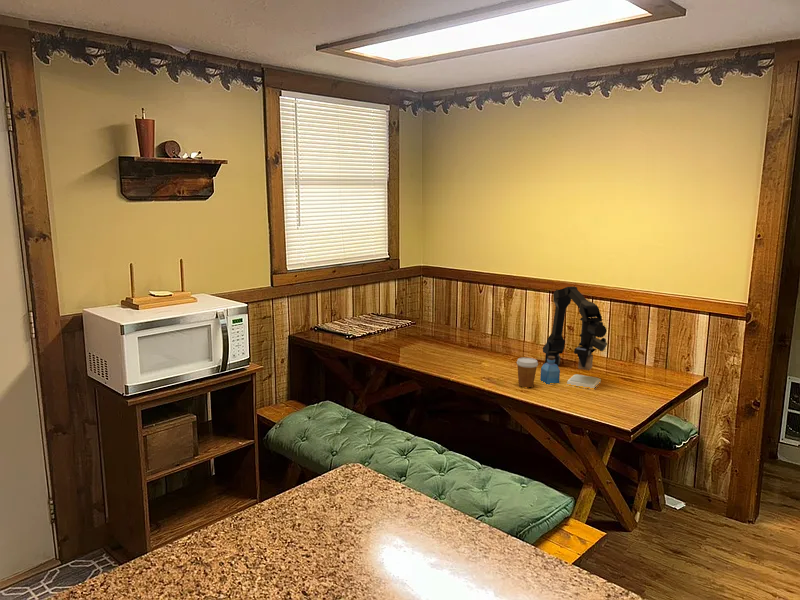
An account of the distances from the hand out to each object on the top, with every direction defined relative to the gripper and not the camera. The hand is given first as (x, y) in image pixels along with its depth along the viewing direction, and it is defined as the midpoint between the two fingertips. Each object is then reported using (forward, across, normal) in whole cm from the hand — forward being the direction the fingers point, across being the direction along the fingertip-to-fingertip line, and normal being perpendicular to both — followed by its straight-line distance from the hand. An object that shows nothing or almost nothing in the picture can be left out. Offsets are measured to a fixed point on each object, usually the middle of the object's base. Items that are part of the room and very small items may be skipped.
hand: (585, 365), depth 280 cm
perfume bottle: (+9, -6, +14) cm, 18 cm away
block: (+1, 0, 0) cm, 1 cm away
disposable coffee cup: (+9, -18, +21) cm, 29 cm away
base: (+9, 0, 0) cm, 9 cm away
